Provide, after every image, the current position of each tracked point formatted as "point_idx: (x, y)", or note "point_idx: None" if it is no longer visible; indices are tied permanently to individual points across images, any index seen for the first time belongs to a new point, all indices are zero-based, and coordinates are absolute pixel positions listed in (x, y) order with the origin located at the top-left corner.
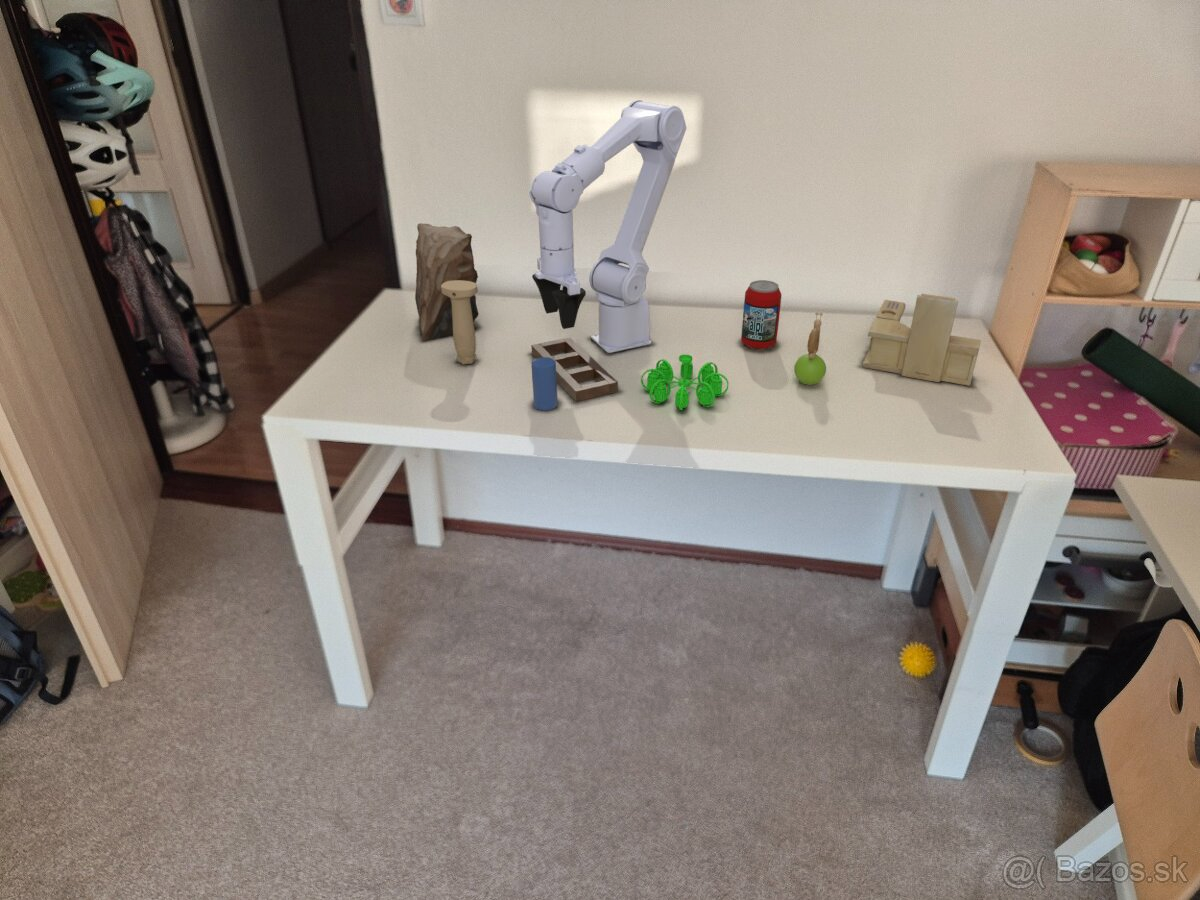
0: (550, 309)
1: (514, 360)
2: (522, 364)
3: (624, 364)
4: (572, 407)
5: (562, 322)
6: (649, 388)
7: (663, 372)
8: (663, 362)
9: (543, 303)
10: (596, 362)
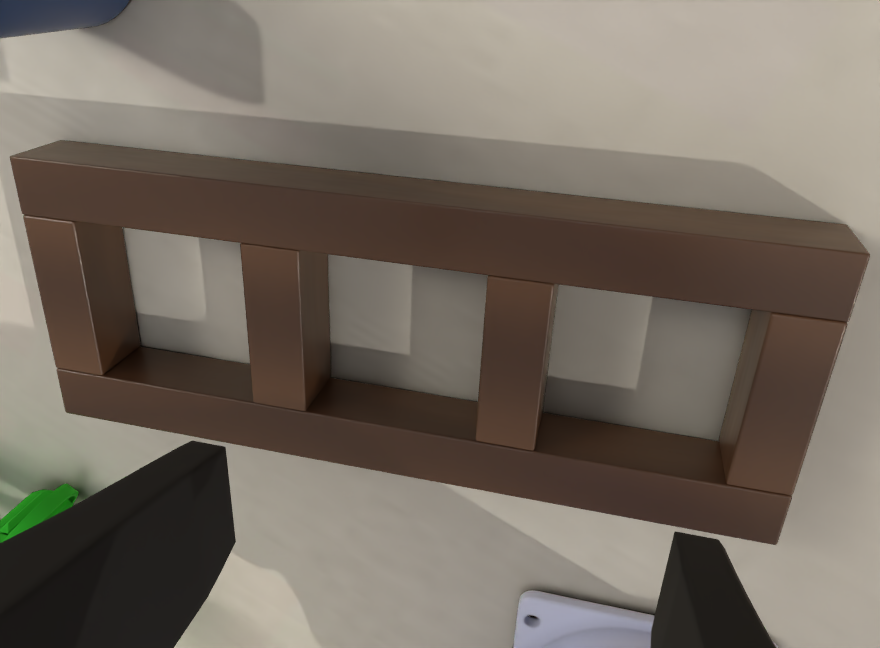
0: (669, 602)
1: (855, 46)
2: (736, 74)
3: (370, 569)
4: (7, 87)
5: (129, 476)
6: (37, 494)
7: None
8: None
9: (729, 618)
10: (324, 458)
